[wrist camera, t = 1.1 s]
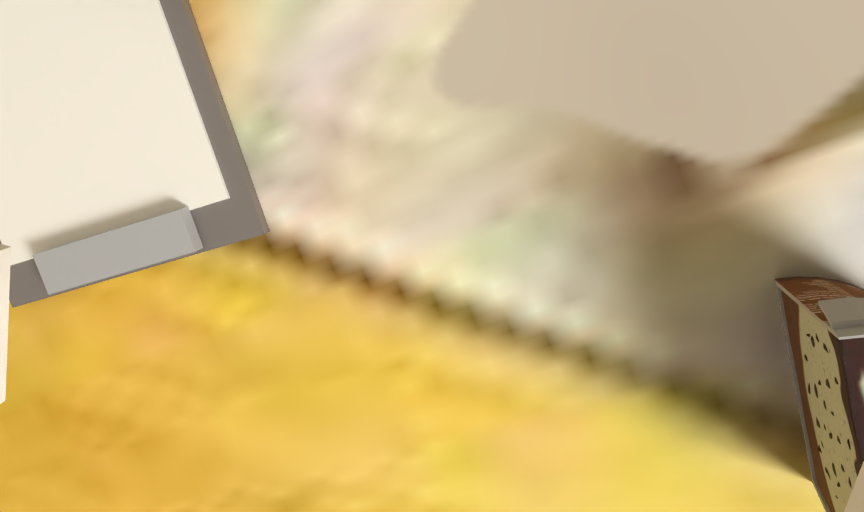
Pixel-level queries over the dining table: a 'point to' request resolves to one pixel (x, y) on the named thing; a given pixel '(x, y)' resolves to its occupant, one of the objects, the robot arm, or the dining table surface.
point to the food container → (827, 378)
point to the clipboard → (112, 144)
